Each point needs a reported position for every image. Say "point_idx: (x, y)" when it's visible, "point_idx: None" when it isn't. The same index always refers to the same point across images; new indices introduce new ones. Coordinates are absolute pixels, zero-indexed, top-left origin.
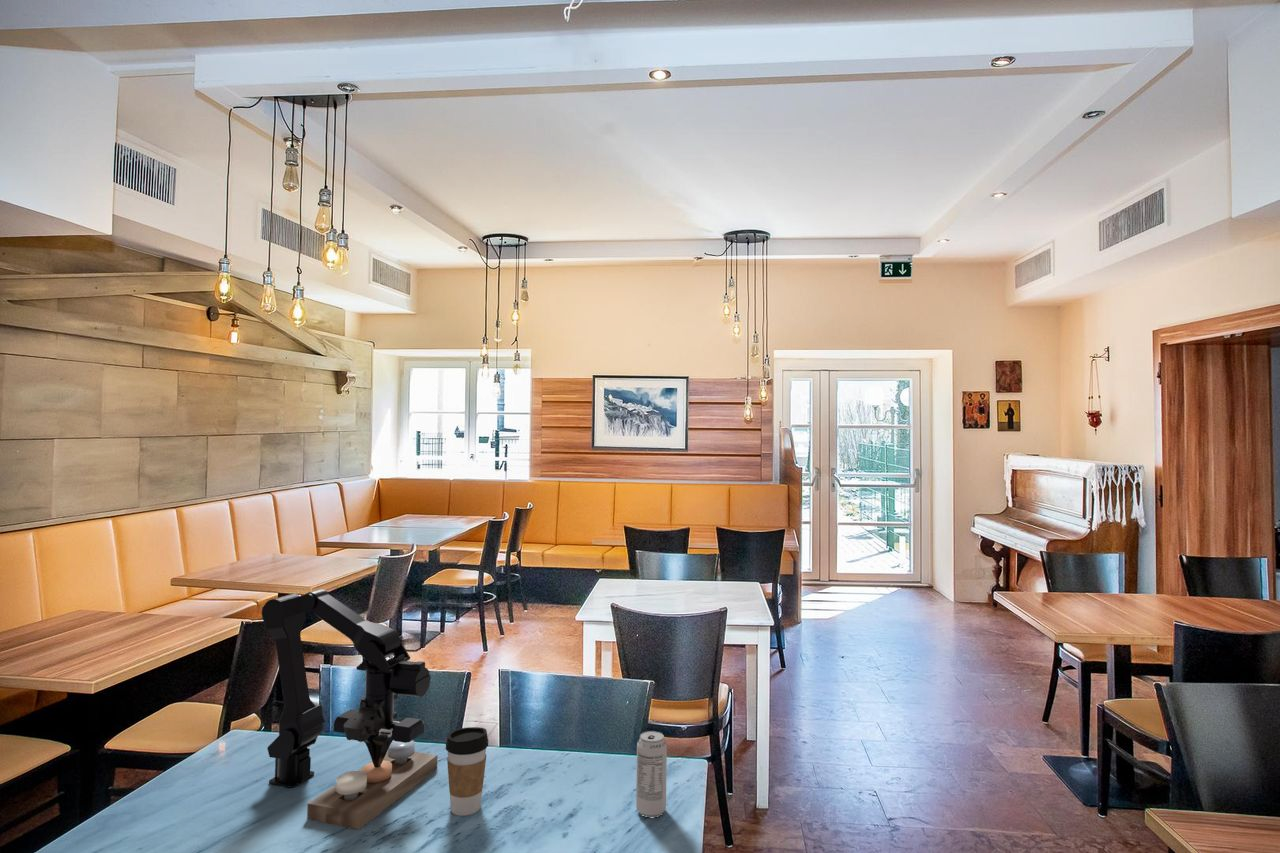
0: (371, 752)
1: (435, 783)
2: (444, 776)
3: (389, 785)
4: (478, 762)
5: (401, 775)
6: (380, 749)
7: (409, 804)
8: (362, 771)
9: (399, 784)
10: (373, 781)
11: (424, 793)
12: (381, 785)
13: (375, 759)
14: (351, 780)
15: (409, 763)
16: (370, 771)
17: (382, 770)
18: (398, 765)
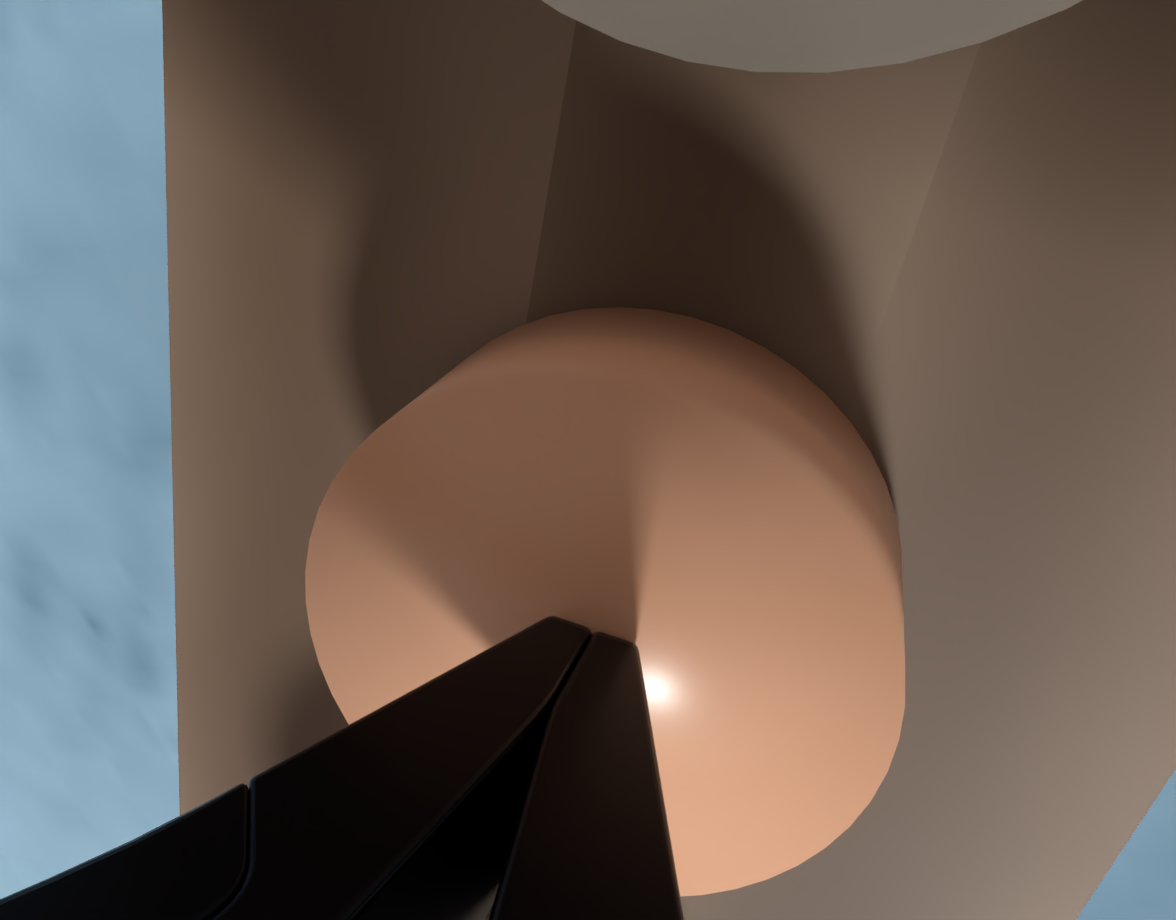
0: (579, 913)
1: (125, 619)
2: (128, 745)
3: (278, 252)
4: None
5: (292, 591)
6: (57, 880)
7: (102, 124)
8: (630, 37)
9: (180, 328)
10: (580, 312)
11: (102, 409)
12: (415, 247)
13: (521, 725)
14: None
15: None
16: (636, 446)
17: (388, 490)
18: None
